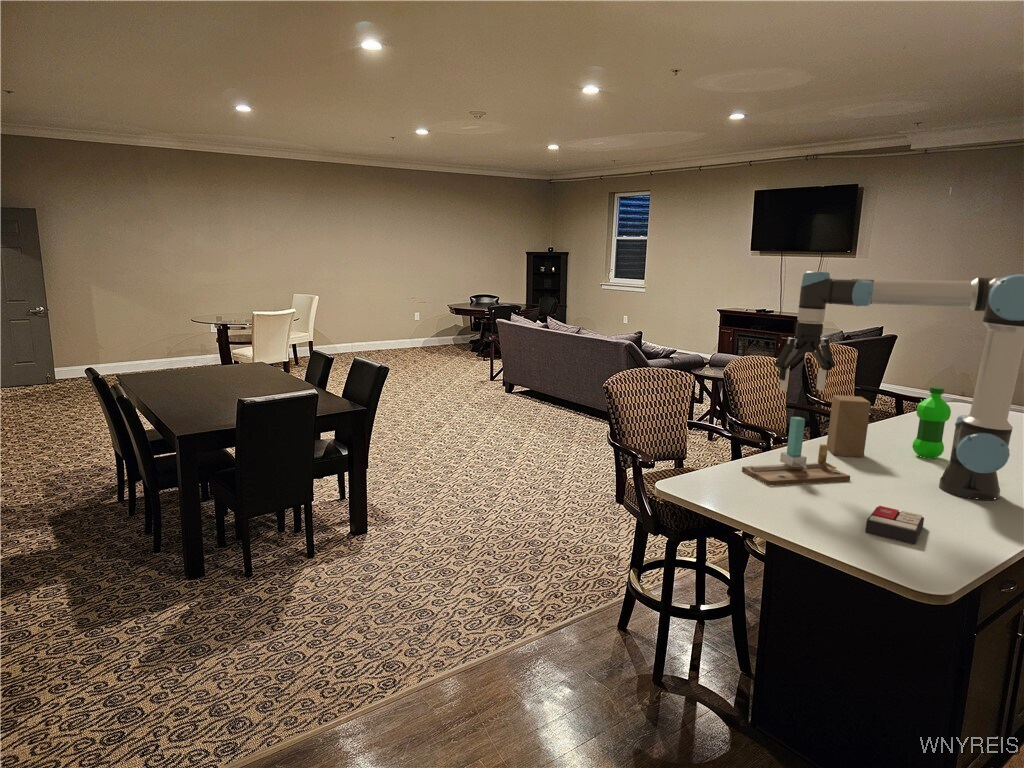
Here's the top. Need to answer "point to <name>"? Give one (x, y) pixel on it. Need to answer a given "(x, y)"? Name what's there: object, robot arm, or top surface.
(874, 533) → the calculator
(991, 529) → the top surface
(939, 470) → the top surface
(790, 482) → the hole plate
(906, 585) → the top surface
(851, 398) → the wooden block
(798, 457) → the sliding lever
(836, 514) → the top surface
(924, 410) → the plastic bottle
